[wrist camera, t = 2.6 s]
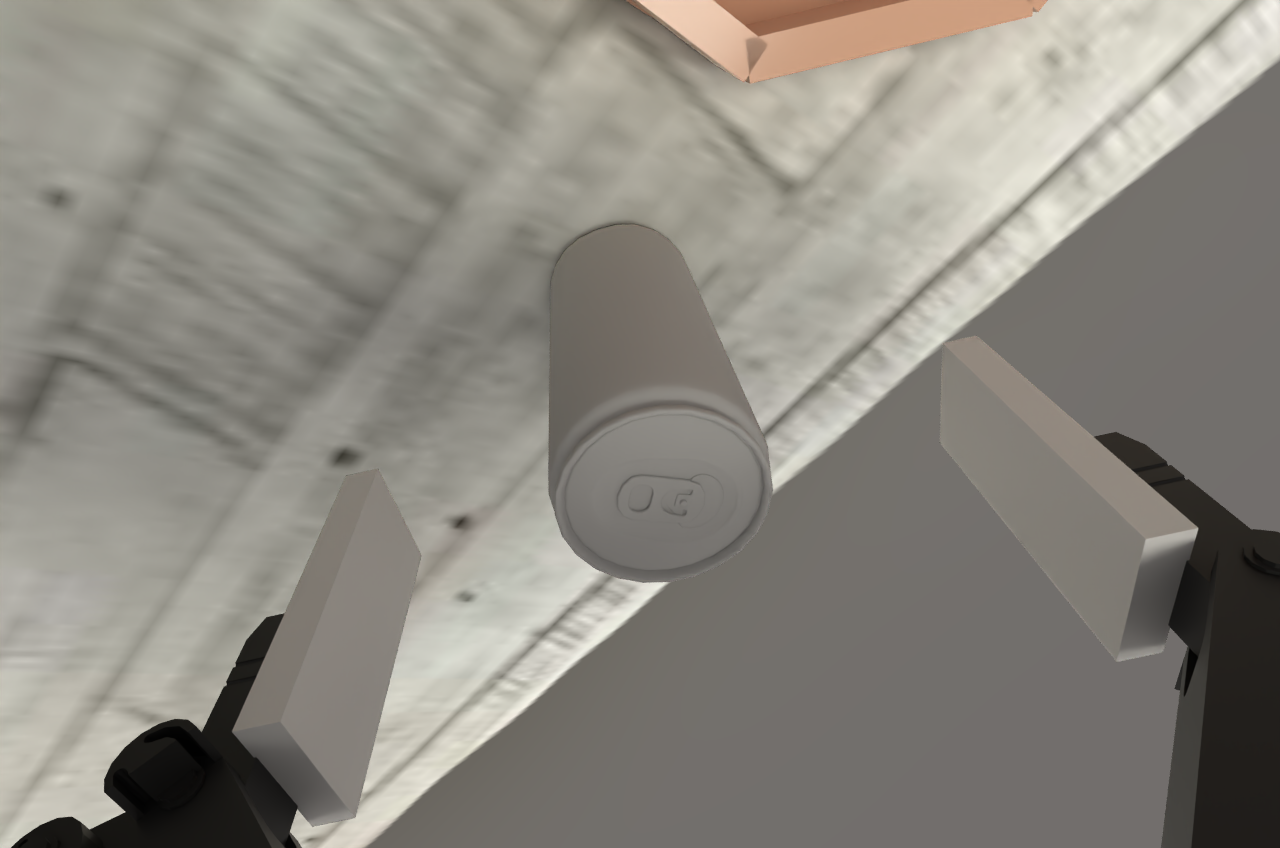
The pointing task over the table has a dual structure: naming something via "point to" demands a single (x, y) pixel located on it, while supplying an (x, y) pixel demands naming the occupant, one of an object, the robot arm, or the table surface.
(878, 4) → the dish
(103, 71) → the table surface
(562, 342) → the beverage can
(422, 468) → the table surface
